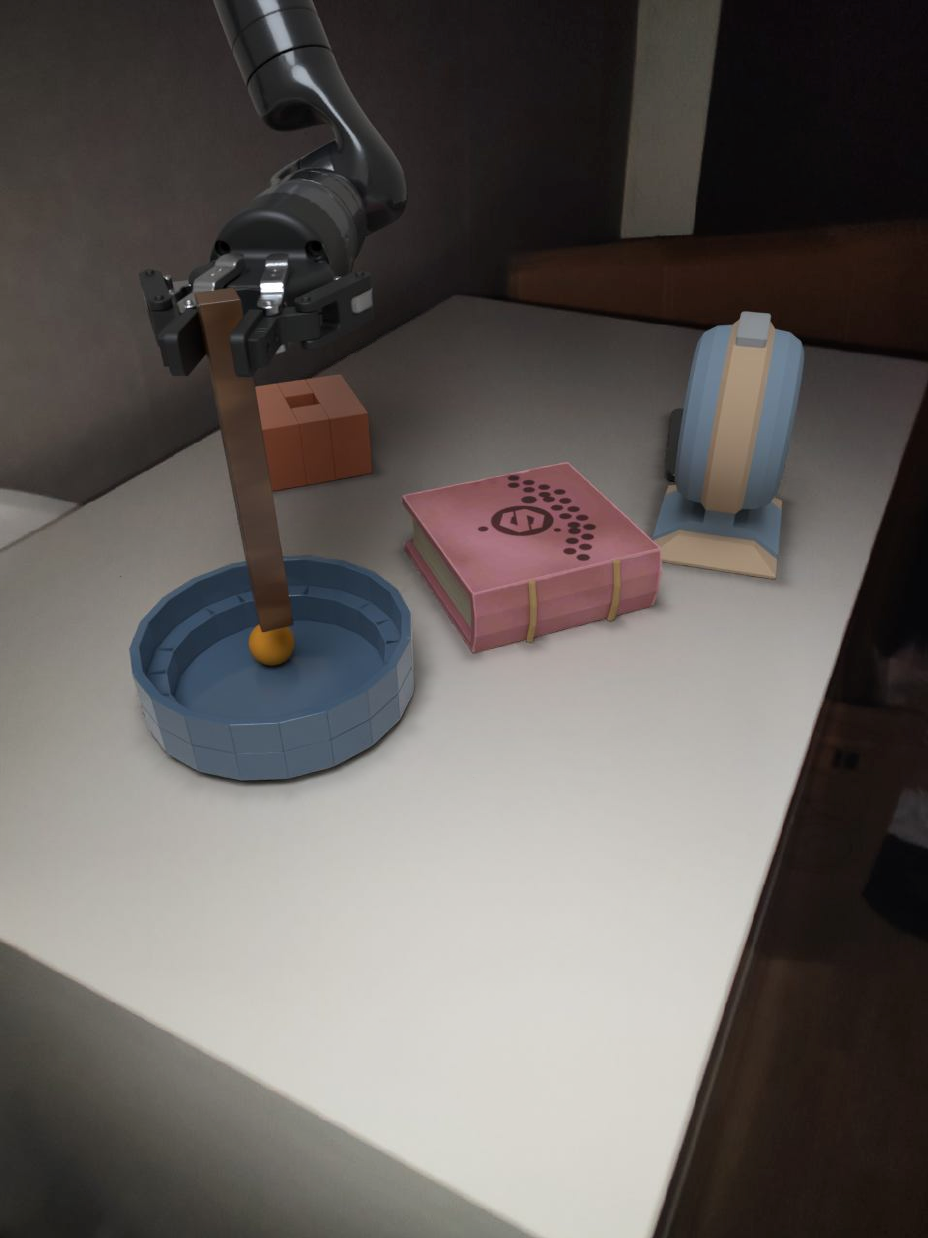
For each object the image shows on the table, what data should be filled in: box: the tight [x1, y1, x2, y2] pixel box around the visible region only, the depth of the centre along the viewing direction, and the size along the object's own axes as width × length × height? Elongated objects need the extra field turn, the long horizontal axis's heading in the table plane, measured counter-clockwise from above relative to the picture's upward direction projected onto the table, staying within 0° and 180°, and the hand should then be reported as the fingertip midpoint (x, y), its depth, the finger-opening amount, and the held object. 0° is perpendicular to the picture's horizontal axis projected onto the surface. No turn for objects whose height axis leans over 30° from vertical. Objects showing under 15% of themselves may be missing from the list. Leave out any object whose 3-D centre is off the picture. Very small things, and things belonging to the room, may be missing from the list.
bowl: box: [128, 554, 415, 781], centre depth 59 cm, size 17×17×5 cm
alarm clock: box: [651, 311, 805, 580], centre depth 70 cm, size 14×10×18 cm
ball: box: [249, 625, 295, 666], centre depth 61 cm, size 3×3×3 cm
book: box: [401, 461, 663, 654], centre depth 69 cm, size 14×15×5 cm
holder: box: [255, 373, 373, 492], centre depth 85 cm, size 10×10×6 cm
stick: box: [194, 288, 294, 632], centre depth 51 cm, size 2×2×20 cm
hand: (207, 357), depth 44 cm, fingers closed on stick, 2 cm apart
